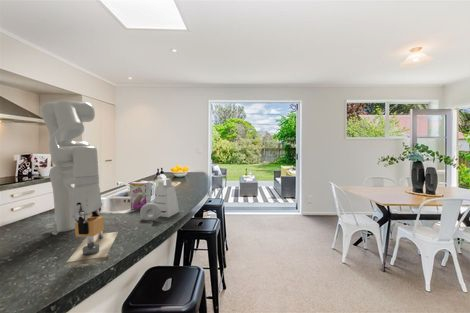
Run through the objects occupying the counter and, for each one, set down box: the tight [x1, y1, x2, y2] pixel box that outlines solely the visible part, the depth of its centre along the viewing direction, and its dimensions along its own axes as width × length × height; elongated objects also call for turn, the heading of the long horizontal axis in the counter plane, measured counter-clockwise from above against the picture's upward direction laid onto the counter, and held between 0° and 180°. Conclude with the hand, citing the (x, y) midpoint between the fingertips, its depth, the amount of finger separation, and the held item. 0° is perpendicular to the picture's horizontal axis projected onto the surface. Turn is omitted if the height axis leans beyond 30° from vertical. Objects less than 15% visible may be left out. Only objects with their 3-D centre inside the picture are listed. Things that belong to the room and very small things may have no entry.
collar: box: [74, 216, 105, 238], centre depth 88 cm, size 6×6×5 cm
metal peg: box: [83, 236, 99, 256], centre depth 88 cm, size 5×5×10 cm
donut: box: [139, 202, 160, 222], centre depth 126 cm, size 10×4×10 cm, turn 106°
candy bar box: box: [129, 181, 151, 210], centre depth 153 cm, size 11×5×16 cm, turn 77°
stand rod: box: [97, 230, 104, 239], centre depth 102 cm, size 2×2×9 cm
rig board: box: [66, 231, 119, 267], centre depth 95 cm, size 12×25×2 cm, turn 17°
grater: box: [152, 177, 180, 218], centre depth 140 cm, size 10×10×20 cm
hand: (89, 229), depth 88 cm, fingers closed on collar, 6 cm apart
